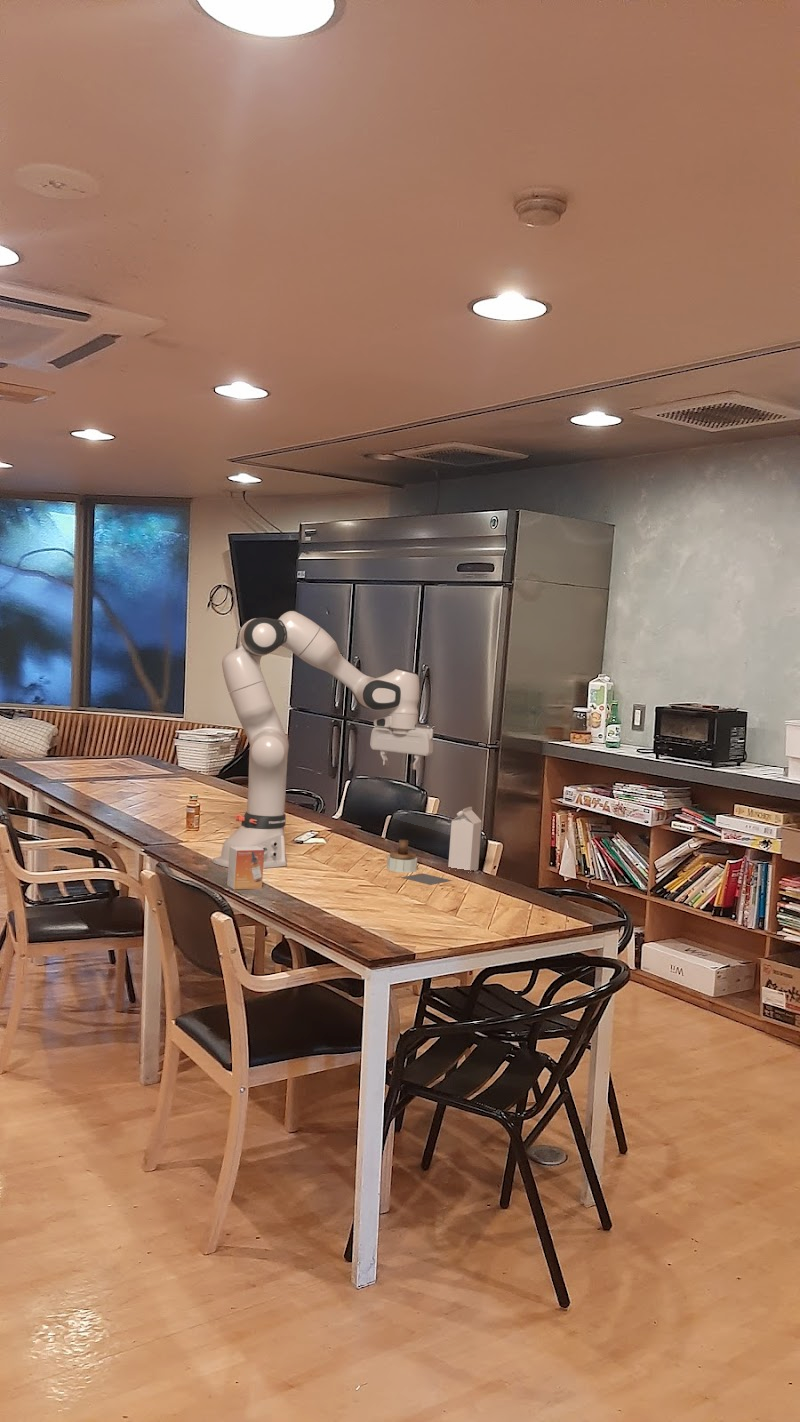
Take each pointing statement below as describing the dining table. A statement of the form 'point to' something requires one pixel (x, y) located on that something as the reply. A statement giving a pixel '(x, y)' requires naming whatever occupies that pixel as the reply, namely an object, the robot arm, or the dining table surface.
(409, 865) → the bowl
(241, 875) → the small box
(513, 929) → the dining table surface
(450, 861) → the milk carton
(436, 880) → the mat
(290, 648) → the robot arm
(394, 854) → the lid
